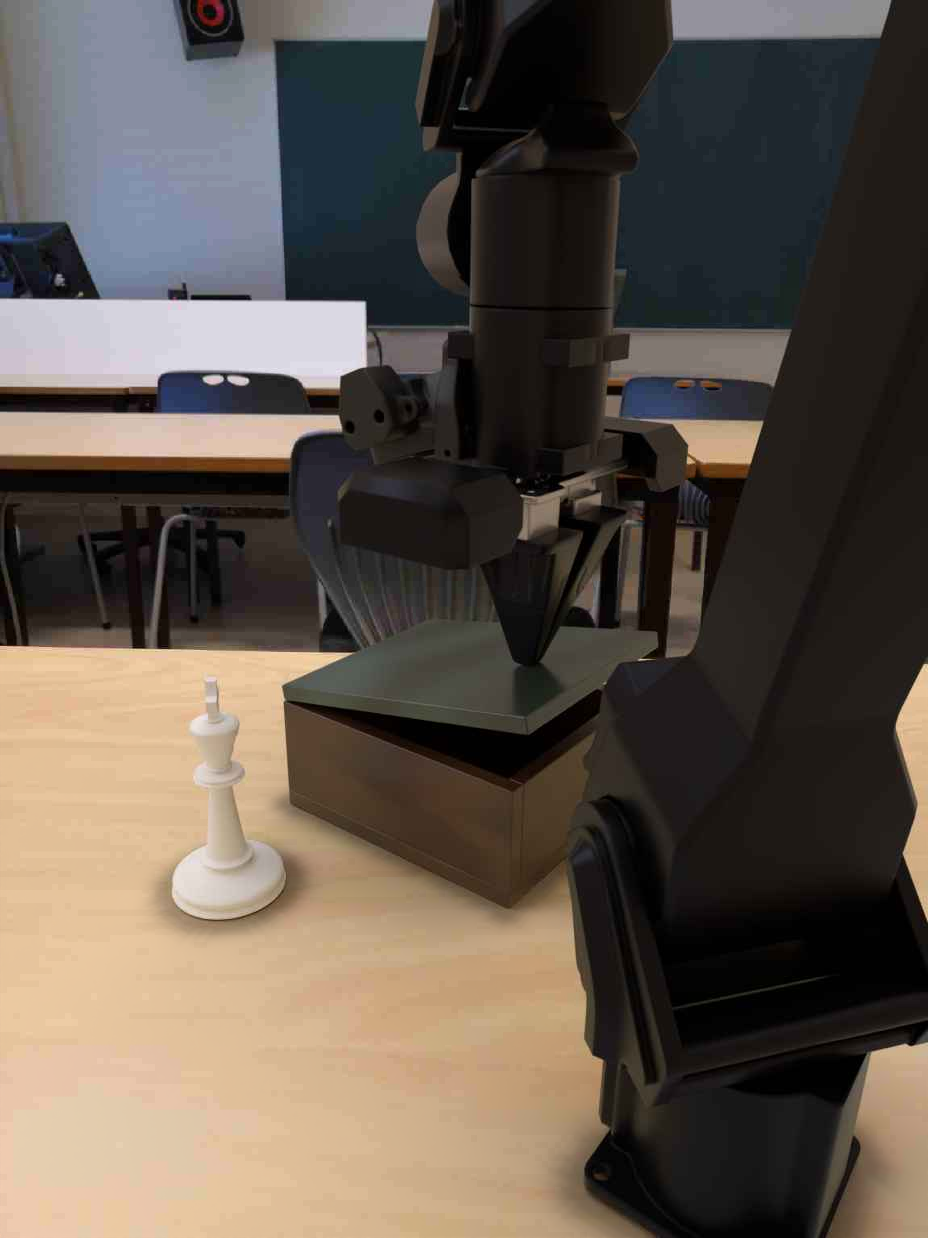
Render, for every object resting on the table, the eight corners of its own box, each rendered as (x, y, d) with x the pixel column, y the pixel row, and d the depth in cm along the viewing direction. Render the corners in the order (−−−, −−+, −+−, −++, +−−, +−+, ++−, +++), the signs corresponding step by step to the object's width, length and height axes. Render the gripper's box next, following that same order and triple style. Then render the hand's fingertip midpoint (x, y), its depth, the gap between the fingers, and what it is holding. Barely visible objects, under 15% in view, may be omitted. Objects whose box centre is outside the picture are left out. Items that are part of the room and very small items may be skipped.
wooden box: (634, 795, 49) (643, 695, 47) (508, 909, 40) (513, 792, 38) (431, 721, 56) (431, 631, 54) (289, 803, 48) (282, 701, 46)
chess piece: (167, 927, 39) (139, 711, 35) (177, 857, 43) (153, 659, 40) (287, 913, 40) (272, 701, 36) (285, 846, 44) (271, 652, 41)
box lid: (659, 646, 45) (657, 631, 45) (528, 736, 37) (525, 717, 36) (432, 631, 54) (430, 618, 54) (283, 700, 46) (280, 685, 45)
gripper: (507, 295, 49) (499, 577, 55) (225, 305, 35) (253, 683, 41) (707, 303, 43) (675, 620, 48) (461, 318, 29) (456, 763, 34)
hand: (526, 662), depth 43 cm, fingers closed, pressing on box lid
